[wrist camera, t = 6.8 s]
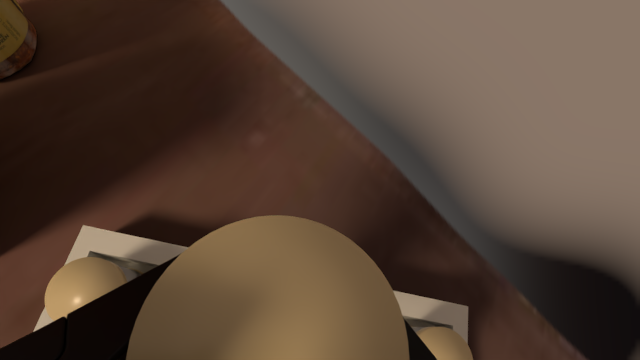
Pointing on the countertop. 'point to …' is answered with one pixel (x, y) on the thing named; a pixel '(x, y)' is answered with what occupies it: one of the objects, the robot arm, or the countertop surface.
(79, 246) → the fuse block
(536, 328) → the countertop surface
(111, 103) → the countertop surface
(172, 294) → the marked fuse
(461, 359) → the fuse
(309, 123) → the countertop surface
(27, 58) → the sauce bottle
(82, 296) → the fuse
